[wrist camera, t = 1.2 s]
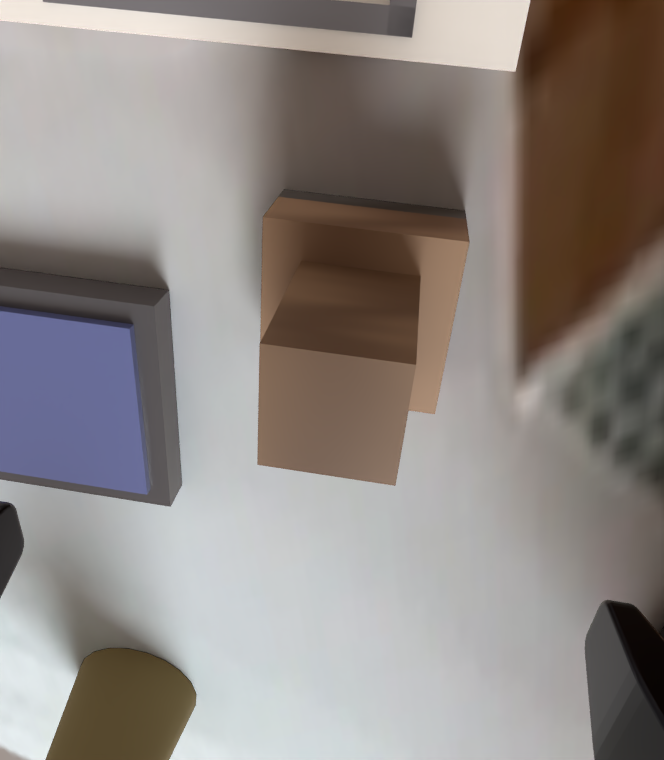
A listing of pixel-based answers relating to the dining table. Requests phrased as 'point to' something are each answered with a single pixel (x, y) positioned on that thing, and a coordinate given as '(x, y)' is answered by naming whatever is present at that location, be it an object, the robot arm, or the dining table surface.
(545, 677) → the dining table surface
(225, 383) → the dining table surface
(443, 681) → the dining table surface
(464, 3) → the print card
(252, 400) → the dining table surface
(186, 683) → the cork
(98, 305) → the ink pad
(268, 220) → the stamp
